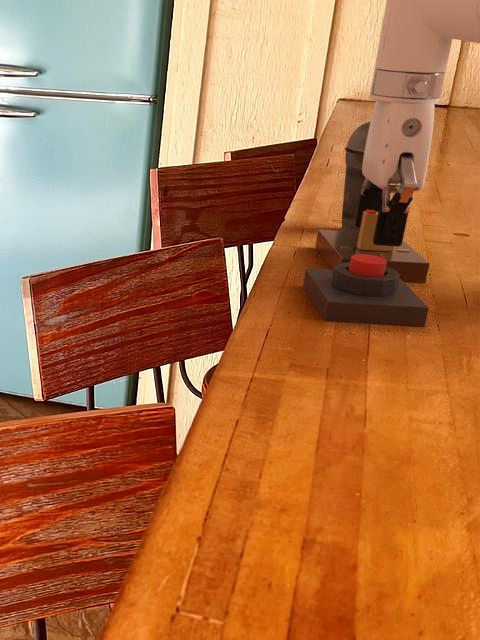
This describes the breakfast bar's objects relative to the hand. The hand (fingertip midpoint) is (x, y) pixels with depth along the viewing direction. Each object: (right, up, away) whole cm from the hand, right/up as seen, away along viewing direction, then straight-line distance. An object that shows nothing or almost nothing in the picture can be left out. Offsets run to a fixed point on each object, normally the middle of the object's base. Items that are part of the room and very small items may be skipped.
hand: (377, 235), depth 109 cm
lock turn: (0, -2, +1) cm, 2 cm away
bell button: (-7, -6, -13) cm, 16 cm away
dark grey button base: (-7, -9, -12) cm, 16 cm away
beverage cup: (+5, +3, +19) cm, 20 cm away
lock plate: (0, -3, +3) cm, 5 cm away
